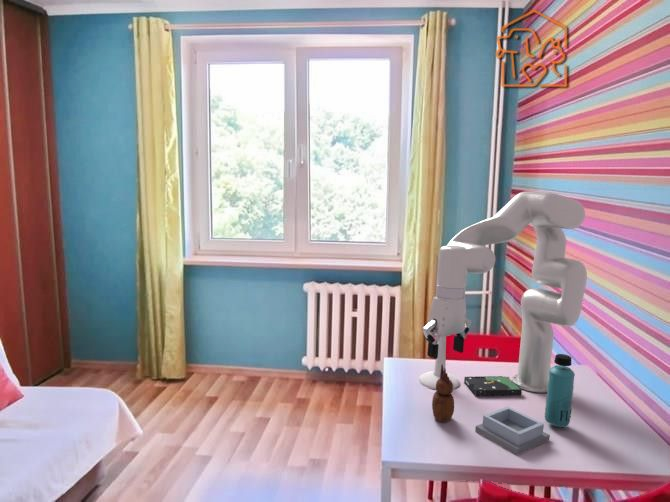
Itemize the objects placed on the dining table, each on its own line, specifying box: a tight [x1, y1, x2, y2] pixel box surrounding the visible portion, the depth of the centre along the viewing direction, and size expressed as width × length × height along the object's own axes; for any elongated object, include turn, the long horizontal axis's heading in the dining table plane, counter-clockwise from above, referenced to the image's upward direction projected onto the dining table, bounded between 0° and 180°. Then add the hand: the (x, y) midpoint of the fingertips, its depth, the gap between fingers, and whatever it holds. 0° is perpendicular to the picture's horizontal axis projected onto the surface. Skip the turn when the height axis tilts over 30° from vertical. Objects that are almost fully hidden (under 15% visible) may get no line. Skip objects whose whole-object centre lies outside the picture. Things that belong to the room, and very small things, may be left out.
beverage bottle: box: [543, 353, 576, 427], centre depth 135 cm, size 6×7×20 cm
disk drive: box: [463, 375, 523, 398], centre depth 158 cm, size 10×3×15 cm
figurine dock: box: [474, 406, 551, 456], centre depth 130 cm, size 13×13×4 cm
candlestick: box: [418, 336, 460, 391], centre depth 161 cm, size 13×13×30 cm
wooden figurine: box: [431, 364, 455, 423], centre depth 138 cm, size 7×6×15 cm
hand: (445, 354), depth 136 cm, fingers open, 9 cm apart
